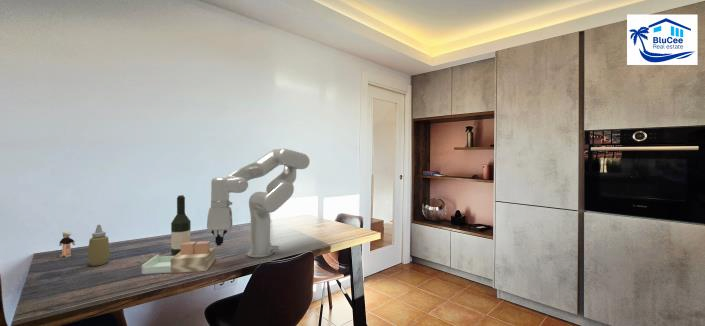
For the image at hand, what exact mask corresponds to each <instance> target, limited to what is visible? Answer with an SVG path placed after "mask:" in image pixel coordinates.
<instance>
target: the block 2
mask: <svg viewBox="0 0 705 326" xmlns="http://www.w3.org/2000/svg"><path fill="white" fill-rule="evenodd" d="M210 248H211V241H210V240H205V241H204V240H203V241H196V244H195V254H207V253H208V252H209V251H210Z"/></svg>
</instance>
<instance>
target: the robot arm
mask: <svg viewBox="0 0 705 326" xmlns="http://www.w3.org/2000/svg"><path fill="white" fill-rule="evenodd" d="M309 165H310V158H309V156H308V155H307V154H306V153H303V152H299V151H296V150H292V149H288V148H277V149H271V151H269V152H267V153H266V154H265V155H263V156H262V157H260V158H259V159H257V160H255V161H254V162H252V163H248V164H246V165H245V166H243V167H240V168H239V169H237V170H234V172H232V173H230V174H229V175H227V176H226V177H213V178H212V179H211V180H210V181H211V183H210V186H211V188H210V207H209V209H208V214H207V219H206V229H207V230H206V233H210V234H212V235H213V236H214V238H215V242H214V243H215V244H216V247H218V246H222V245H223V244H224V236H225V234H226V233H231V232H232V231H233V212H232V211H233V210H232V207H231V206H233V202H232V201H230V194H231V193H233V194H241V193H243V192H244V193H245V191H247V189H248V188H249V182H248V181H251V180H254V179H257V178H262V177H264V176H266V175H267V174H269V173H270V172H271V171H273V170H274V169H275V168H277V167H279V166H283V170H282V172H281V173H280V174H278V175H277V176H276V177H275V178H274V179H272V180H271V181H270V182H269V183H268V184H267V185H266V191H256V192H253V193H252V194H251V195H250V196H249V198H248V207H249V213H250V250H248V251H247V254H246V255H247V256H248V257H250V258H257V259H258V258H267V257H269V256H271V255H273V254H274V251H280V245H272V243H271V216H270V213H274V212H276V211H277V210H278V209H280V208H281V207H282V206H283V205H284V204H285V203H287V201H288V200H289V199H290V198H291V197H292V196H293V194H294V190H295V186H294V183H295V182H296V179H297V170H305V169H307V168H308V167H309Z"/></svg>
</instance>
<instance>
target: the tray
mask: <svg viewBox="0 0 705 326" xmlns="http://www.w3.org/2000/svg"><path fill="white" fill-rule="evenodd" d="M172 257H174V256H171V255H166V256H165V255H164V256H162V255H161V256H160V254H156V255H155V256H154V257H152V258H150V259H149V260H147V261H146V262H145V263H142V264H141V275H143V276H144V275H145V276H146V275H161V274H162V273H163V274H172V273H171V258H172Z"/></svg>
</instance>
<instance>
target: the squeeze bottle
mask: <svg viewBox="0 0 705 326" xmlns="http://www.w3.org/2000/svg"><path fill="white" fill-rule="evenodd" d="M106 233H107V232H106V231H103V227H102V225H101V224H97V225H96V228H95V231H94V232H93V233H91V234H92V235H91V237H90V239H89V242H88V248H87V255H86V257H87V261H88V263H89V265H90V266H93V267H94V266H95V267H96V266H101V265H102V266H103V265H105V264H107V263H108V262H109V258H110V256H111V248H110V242H109V236H107V234H106Z"/></svg>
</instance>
